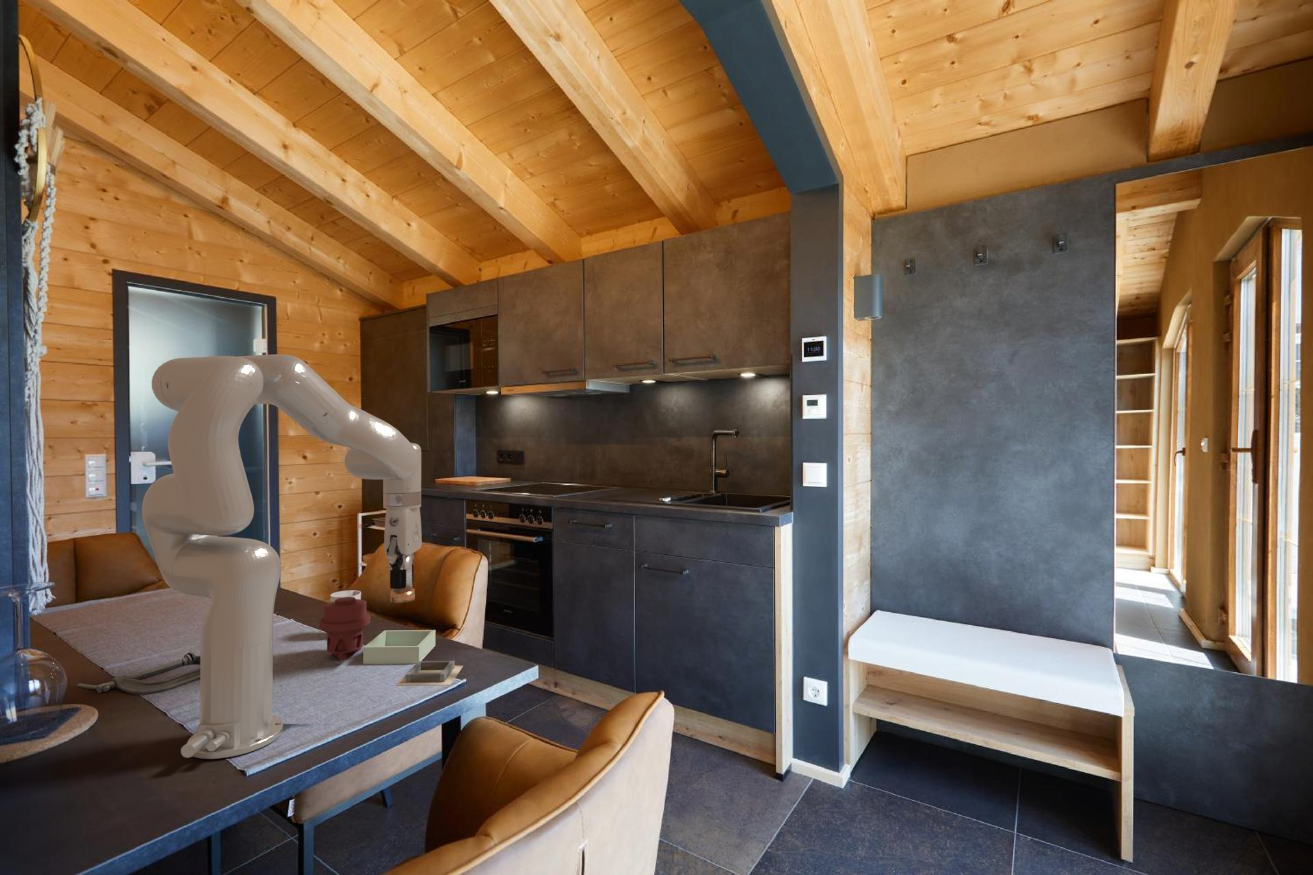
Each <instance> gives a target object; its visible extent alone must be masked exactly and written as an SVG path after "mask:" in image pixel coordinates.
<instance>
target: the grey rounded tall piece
mask: <svg viewBox="0 0 1313 875" xmlns="http://www.w3.org/2000/svg"><path fill="white" fill-rule="evenodd" d="M396 555H402V554H401V552H397V553H396ZM397 559H399V560H400V562H401V558H397ZM412 565H413V564H412V554H410V555H408V556H406V555H405V569H406V588H404V589H391V590H390V602H391V603H395V604H400V603H409V602H413V601H415V599H416V598H415V597H416V594H415V592H416V591H415V590H416V588H414V587H413V583H412Z"/></svg>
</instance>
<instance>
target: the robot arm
mask: <svg viewBox="0 0 1313 875" xmlns="http://www.w3.org/2000/svg"><path fill="white" fill-rule="evenodd" d="M151 389H152V394H154V397H155V398H156V399H157V400H158V401H159V403H160V404H162V405H163V406H165V407H166V408H168V409H171V410H173V411H175V412H177V414H176V415H175V417H174V418H173V421H172V423H171V425H170V429H169V431H168V438H167V449H168V455H169V458H170V463H171V468H172V472H173V473H169V474H165V475H163V476H161V477H159V478H158V479H156V480H155V481H154V482H152V483H151V484H150V485H149V487H148V489H147V490H146V492H145V495H144V496H143V500H142V506H141V513H142V514H141V515H142V521H143V523H144V528H145V531H146V533H147V534H146V535H147V537H148V539H149V544H150V546H151V549H152V551H153V555H154V557H155V561H156V563H157V566H158V569H159V571H160V574H161V576H162V578H163V580H164V583H166V584H167V586H168V587H169V588H170V589H172V590H173V591H175V592H177V593H179V594H182V595H186V596H193V597H199V598H209V599H211V603H210V605H209V608H208V609H207V612H206V614H205V615H204V618H203V620H202V624H201V628H200V639H199V648H200V655H199V656H200V663H199V664H200V666H199V668H200V679H199V724H197V732H195V733H194V734H192V736H190V738H188V740H187V741H186V744H184V745H183V746H181V748H180V754H181V756H182V757H184V758H187V759H189V758H196V759H197V758H198V759H204V760H205V759H206V760H216V759H217V760H218V759H225V758H231V757H237V756H240V755H244V754H249V753H251V752H253V751H257V750H259V749H261V748H263V747H265V746H268V745H269V744H271V743H272V742H274V741H276V740H277V739H278V738H279V737H280V736H281V735H282V734H283V731H284V722H283V720H282V719H281V718H279V717H277V716H275V715H273V703H274V702H273V698H274V697H273V695H274V692H273V691H274V687H273V685H274V679H273V678H274V676H273V674H274V672H273V671H274V614H275V613H274V611H275V602H276V596H277V590H278V588H279V583H280V579H281V572H282V562H281V558H280V556H279V554H278V552H277V551H276V550H275V548H274V547H272V546H271V545H270V544H268V543H266V542H264V541H260V540H258V539H254V538H247V537H246V538H245V537H233V536H229V535H233V534H237V533H239V532H241V531H243V530H245V529H246V528H247V527H248V526H249V525H250V524H251V522H252V520H253V518H254V512H255V506H254V499H253V495H252V491H251V489H250V485H249V482H248V481H249V480H248V477H247V474H246V470H245V467H244V462H243V460H242V455H241V450H240V446H239V445H240V443H239V433H240V430H241V426H242V423H243V421H244V420H245V418H246V416H247V414H248V413H249V411H251V409H252V408H253V407H254V406H255V405H273V406H274V407H277V408H278V409H279V410H280V411H281V412H282V413H284V414H285V415H286V416H288V417H289V418H290V419H291V420H292V421H294V422H295V423H297V425H298V426H300V427H301V428H302V429H304V431H305V432H307V433H308V434H309V435H310V436H312V437H313V438H315V439H318V440H320V441H323V442H326V443H330V444H333V445H337V446H341V447H346V448H349V449H348V450H347V451H346V453H345V456H344V467H345V469H346V471H347V472H348V473H349V474H351V475H352V476H354V477H355V478H358V479H363V480H383V481H382V482H383V485H382V486H383V489H382V490H383V491H382V492H383V493H382V496H383V497H382V498H383V499H382V500H383V504H382V506H383V509H386V512H385V519H384V520H385V521H384V533H383V534H384V537H383V538H384V539H383V540H384V541H383V542H384V545H383V547H384V554H385V555H386V556H387V557H386V558H387V561H388V562H387V563H389V572H390V573H389V588H390V589H391V590H393V589H404V588H406V569H405V555H406V556H408V555H410V554H412V584H413V583H414V581H415V580H414V579H415V576H414V575H415V574H414V573H415V569H414V568H415V566H414V564H415V556H414V555H415V553H416V552H417V551H419V550H420V549H421V548H422V545H423V542H422V541H423V540H422V538H423V537H422V535H423V534H422V519H421V509H420V508H421V507H422V448H421V446H420V445H419V444H418V443H414V442H410V441H409V440H408V439H407V437H405V436H404V434H403V433H402V432H400V430H399V429H397V428H396V427H394V426H393V425H391V424H390V423H388V422H386V421H385V420H383V419H381V418H379V417H377V416H375V415H373V414H371V413H368V412H367V411H365V410H363V409H361V408H358V407H356V406H354V405H352V404H351V403H349V402H347V400H345V399H344V398H343V397H342V396H341V395H340V394H339V393H338V392H337V391H336V390H335V389H334V388H332V387H331V385H330V384H328V383H327V382H326V381H325V380H324V379H323V377H321V376H320V375H319V374H318V373H317V372H316V371H315V370H314V369H313V368H312V367H310V366H309V365H308V364H307V363H306V362H305V361H304V360H303V359H301V358H299V357H297V356H294V355H293V354H292V355H291V354H282V353H280V354H279V353H278V354H257V355H256V354H255V355H253V354H252V355H241V356H234V355H215V356H213V355H212V356H200V357H199V356H198V357H197V356H195V357H194V356H193V357H178V358H173V359H169V360H167V361H166V362H163V363H162V364H161V365H160V366H158V367H157V369H156V370H155V371H154V373H153V376H152V378H151ZM397 552H401V554H402V555H396V553H397ZM397 558H401V562H400V560H399V559H397Z"/></svg>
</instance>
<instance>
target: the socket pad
mask: <svg viewBox="0 0 1313 875" xmlns="http://www.w3.org/2000/svg"><path fill="white" fill-rule="evenodd" d="M455 662H456V661H455V660H422V661H418V662H417V663H416V664H413V666H412V667H411V668H410V669H409V671H407V673H405V675H404V676H403V677H402V678H401V679H400V680H399V681H398V682H397V683H396V685H395V686H396V687H397V686H398V687H403V686H404V687H405V686H406V687H408V686H409V687H410V686H415V687H416V686H451V685H452V682H453V681H454V680H455V678H456V677H457V676H458V674H459V673H460V671H461V670H462V668H463V667H464V665H456V663H455Z"/></svg>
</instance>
